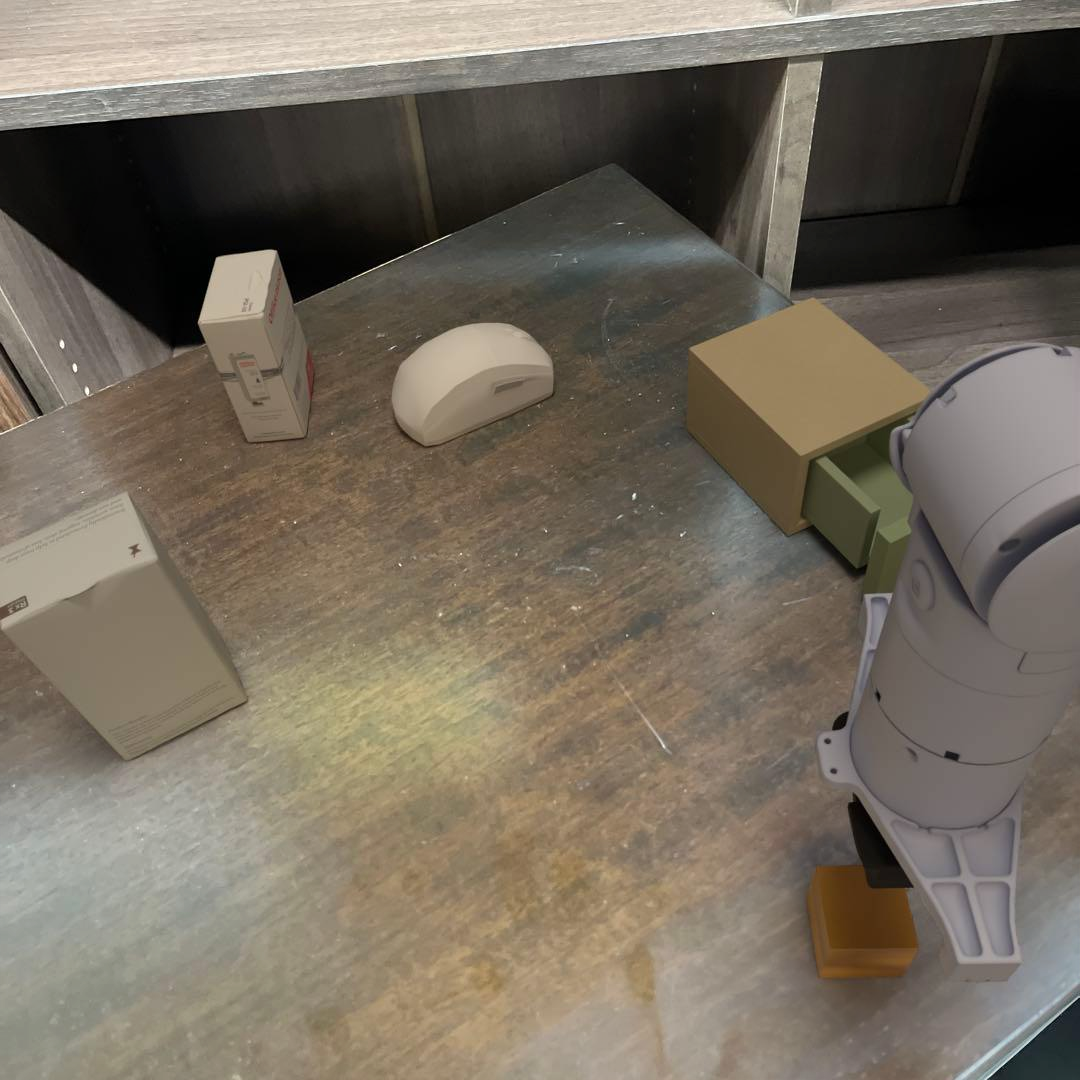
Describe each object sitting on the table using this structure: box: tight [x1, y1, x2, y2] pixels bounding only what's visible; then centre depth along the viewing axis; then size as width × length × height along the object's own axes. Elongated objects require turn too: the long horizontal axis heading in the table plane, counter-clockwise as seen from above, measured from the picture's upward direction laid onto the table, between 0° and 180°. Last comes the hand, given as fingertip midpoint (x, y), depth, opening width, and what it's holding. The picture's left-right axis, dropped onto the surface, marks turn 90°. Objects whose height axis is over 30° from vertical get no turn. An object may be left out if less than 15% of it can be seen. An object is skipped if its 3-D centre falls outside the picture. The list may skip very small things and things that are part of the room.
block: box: [805, 864, 920, 979], centre depth 48 cm, size 4×4×4 cm
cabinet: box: [685, 296, 932, 537], centre depth 69 cm, size 13×11×8 cm
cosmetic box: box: [0, 491, 248, 762], centre depth 56 cm, size 8×6×15 cm
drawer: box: [801, 413, 915, 595], centre depth 62 cm, size 16×9×6 cm, turn 27°
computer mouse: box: [390, 322, 555, 447], centre depth 76 cm, size 6×13×6 cm, turn 118°
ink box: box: [197, 249, 315, 443], centre depth 75 cm, size 9×5×12 cm, turn 3°
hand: (886, 858), depth 42 cm, fingers closed
